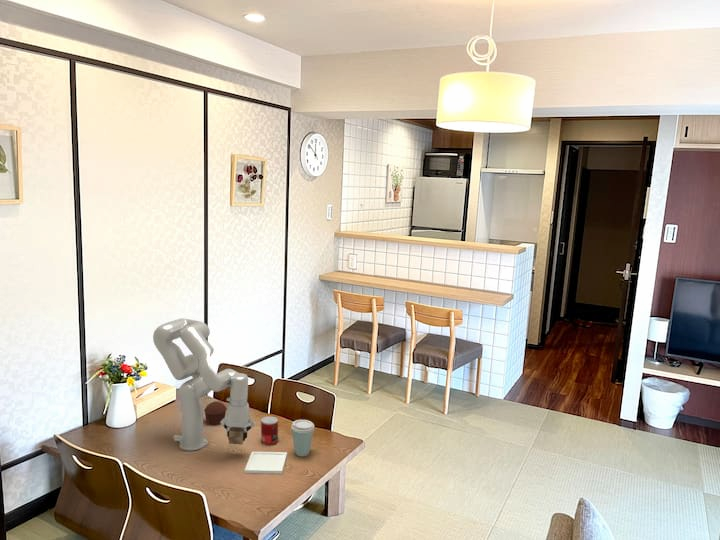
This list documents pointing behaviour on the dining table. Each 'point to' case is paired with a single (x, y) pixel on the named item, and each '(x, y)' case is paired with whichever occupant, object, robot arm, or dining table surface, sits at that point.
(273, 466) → the plate
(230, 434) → the cube
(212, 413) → the muffin
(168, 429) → the dining table surface
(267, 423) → the canned food
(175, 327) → the robot arm
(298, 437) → the disposable coffee cup
